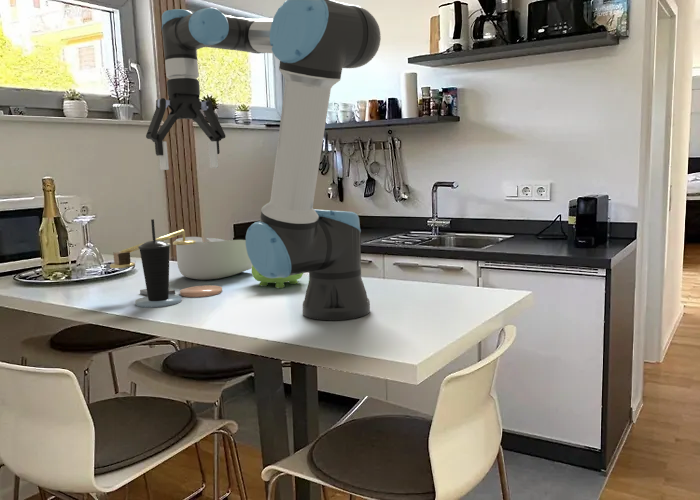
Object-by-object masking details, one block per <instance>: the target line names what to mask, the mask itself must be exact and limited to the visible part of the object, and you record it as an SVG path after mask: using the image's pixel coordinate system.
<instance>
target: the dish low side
mask: <svg viewBox="0 0 700 500" xmlns="http://www.w3.org/2000/svg"><path fill="white" fill-rule="evenodd" d="M182 297H183V296H181V295H180V294H169V298H168V299H167V300H163V301H149V300H148V296H143V297H141V298H137V299H136V300H135V305H136V306H135V307H140V308H145V309H146V308H148V309H149V308H163V307H169V306H174V305H177V304H179V303H181V302H182V301H183V300H182V299H183V298H182Z"/></svg>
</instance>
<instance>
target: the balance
mask: <svg viewBox="0 0 700 500" xmlns="http://www.w3.org/2000/svg"><path fill="white" fill-rule="evenodd" d="M185 232H186V231H185V230H184V229H183V228H182V229H179V230H177V231H174V232H171V233H169V234H166V235H162V236H159V237H155V239H156V240H160V241H164V242H165V241H167V240H169V239H173V238H175V237H178V236H180V235H182V238H183V240H180V241H176V240H174V241H173V242H172V245H173V246H176V245H190V244H195V243H196V241H195V240H185V237H186V233H185ZM151 240H152V239H151ZM151 240H149V241H151ZM143 243H144V242H142V243H140V244H139V243H138V244H137V245H133V246H130V247H128V248H125V249H121V250H120V251H115V252H114V251H113V263H111V264H110V265H109V267H110V269H125V268H126V269H127V268H132V267H133V268H134V267H135V266H136V262H134V261H131V253H132V252H135V251H138V250H139V251H140V249H139V248H138V246H140V245H142V244H143ZM139 293H140V294H141V295H144V296H145V297H147V296H148V294H147V288H145V289H140V290H139ZM169 294H172V295H176V290H174V289H171V288H169Z"/></svg>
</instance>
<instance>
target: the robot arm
mask: <svg viewBox="0 0 700 500" xmlns="http://www.w3.org/2000/svg"><path fill="white" fill-rule="evenodd" d="M161 32H162V34H161V35H162V44H163V53H164V64H165V65H164V66H165V75H166V78H167V79H168V80H167V81H166V90H167V96H168V99H166V98H165V97H162V98H161V97H160V98H158V99H156V100H155V109H154V113H153V115H152V118H151V121H150V124H149V126H148V129H147V132H146V135H145V138H146V139H147V140H151V142H153V143H154V148H155V149H154V150H155V155H156V156H158V158H159V159H158V161H159V170H160V171H165V170H166V171H167V170H170V167H169V166H170V165H169V155H168V144H167V140H166V141H164V139H165V138H166V136H167V135H168V133H169V131H170V130H171V128H173V127H174V124H175V123H176V121H177V120H183V119H185V120H193V121H194V122H195V123H196V124H197V125H198V127H199V128H200V129H201V131H202V132H203V133H204V134H205V135H206V137H208V139H209V140H210V141H208V142H207V145H208V146H207V148H208V149H207V150H208V162H209V169H217V168H219V161H218V160H219V159H218V158H219V157H218V155H219V154H220V141H222V139H225V138H226V137H227V136H226V134H225V131H224V129H223V127H222V125H221V124H220V121H219V119H218V117H217V115H216V113H215V111H214V109H213V108H214V107H213V102H212V101H211V100H203V101H201V99H200V95H201V89H200V81H199V79H198V78H199V77H200V74H199V64H198V51H197V50H199V49H203V48H212V49H218V50H219V49H221V50H226V51H227V50H229V51H237V52H238V51H239V52H246V53H252V54H273V55H274V56H275V57H276V59H277V60H279V65H278V70H279V72H280V73H281V75H282V76H283V77H284V79H285V80H284V81H285V83H284V84H285V85H284V92H283V98H282V108H281V116H280V124H279V129H278V130H279V131H278V138H277V147H276V153H275V154H276V155H275V161H274V162H275V163H274V169H273V170H274V171H273V178H272V183H271V184H272V185H271V192H270V193H271V194H270V200H269V202H267V203H265V204H264V205H263V206H262V207H261V210H260V211H261V212H260V218H259V221H255V222H254V223H252V224H251V225H250V226H249V227H248V228H247V230H246V234H245V240H246V250H247V254H248V257H249V259H250V260H251V263H252V265H253V266H254V268H255V269H256V270H257V271H258V272H259V273H260V274H261V275H263V276H264V277H267V278H279V277H282V278H285V277H288V276H291V275H296V274H301V273H303V274H304V273H308V275H309V278H308V283H307V287H306V292H305V294H304V296H305V297H304V300H303V301H302V315H303V316H304V317H306V318H309V319H313V320H320V321H345V320H353V319H358V318H361V317H365V316H367V315H368V314H369V313H371V312H370V311H371V303H370V302H371V301H370V299H369V297H368V295H367V290H366V287H365V285H364V282H363V278H362V257H361V256H362V255H361V254H362V252H361V251H362V248H361V247H362V245H361V232H362V229H361V225H360V224H361V223H360V217H359V215H358V214H357V213H356V212H353V211H344V210H330V209H329V210H328V209H314V200H315V194H316V187H317V181H318V174H319V169H320V161H321V155H322V149H323V148H322V147H323V141H324V135H325V129H326V122H327V117H328V110H329V103H330V97H331V90H332V88H333V86H335V85H336V84H337V83H339V82H340V81H341V79H342V73H343V69H357V68H360V67H363V66H365V65H367V64H369V63H370V61H372V59H374V57H375V56H376V55H377V53H378V51H379V48H380V45H381V30H380V25H379V24H378V22H377V19H376V18H375V17H374V16H373V14H372V13H371V12H369V11H368V10H367V9H365V8H364V7H361V6H359V5H356V4H349V3H345V2H339V1H336V0H284V2H283V3H282V5H280V6H279V7H278V9H277V10H276V12H275V14H274V16H273V18H245V17H240V16H239V17H236V16H234V15H233V16H232V15H227V14H224V13H223V12H221V10H219V9H218V8H215V7H206V8H201V9H198V10H197V11H195V12H192V11H190V10H187V9H182V8H181V9H179V8H175V9H174V8H173V9H167V10H165V11H163V13H162V15H161ZM167 108H169V109H170V112H169V113H168V115H167V118H166V119H165V121H164V122H163V123H162V120H163V118H164V115H165V113H166V109H167ZM200 110H202V111H203V113H204V114H203V113H202V112H201V111H200ZM206 119H207V120H206ZM161 123H162V125H161ZM160 126H161V127H160Z"/></svg>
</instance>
